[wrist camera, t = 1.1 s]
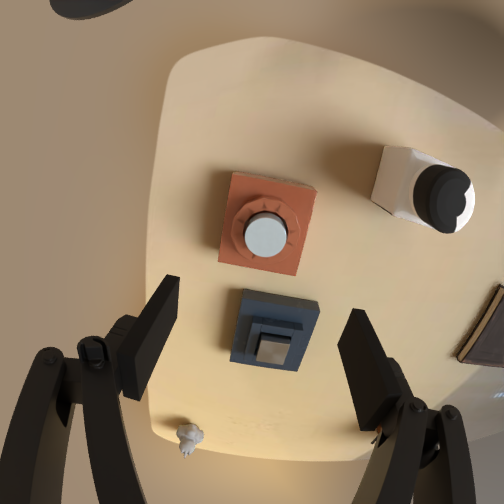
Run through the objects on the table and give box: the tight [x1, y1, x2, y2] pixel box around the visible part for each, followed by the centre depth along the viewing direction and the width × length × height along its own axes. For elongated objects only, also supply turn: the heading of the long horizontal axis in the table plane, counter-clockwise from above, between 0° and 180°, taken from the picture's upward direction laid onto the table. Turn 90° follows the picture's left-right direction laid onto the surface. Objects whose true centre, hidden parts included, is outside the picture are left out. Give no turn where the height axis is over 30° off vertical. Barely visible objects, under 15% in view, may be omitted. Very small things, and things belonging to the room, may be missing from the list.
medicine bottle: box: [371, 145, 475, 234], centre depth 26 cm, size 7×7×12 cm
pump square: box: [256, 332, 290, 365], centre depth 36 cm, size 4×4×2 cm
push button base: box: [230, 289, 320, 371], centre depth 38 cm, size 11×10×4 cm
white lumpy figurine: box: [176, 424, 204, 458], centre depth 47 cm, size 5×7×8 cm
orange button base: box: [218, 171, 317, 276], centre depth 32 cm, size 10×9×5 cm
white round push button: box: [245, 213, 286, 257], centre depth 29 cm, size 4×4×2 cm
